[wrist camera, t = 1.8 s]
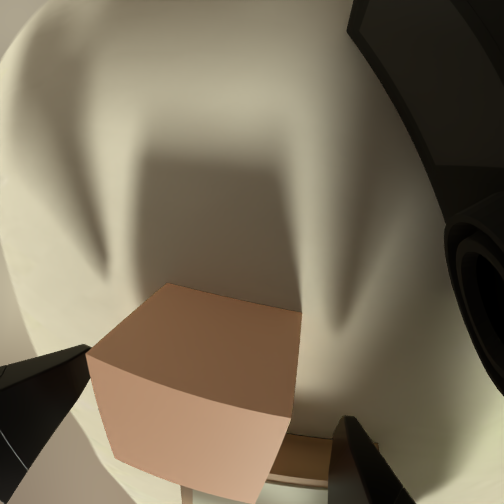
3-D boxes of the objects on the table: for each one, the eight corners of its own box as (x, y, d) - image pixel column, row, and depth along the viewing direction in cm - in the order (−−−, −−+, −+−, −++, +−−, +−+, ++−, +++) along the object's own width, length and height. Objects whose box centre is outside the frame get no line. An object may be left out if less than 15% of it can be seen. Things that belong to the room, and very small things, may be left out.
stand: (322, 510, 14) (319, 540, 11) (194, 487, 15) (182, 515, 13) (378, 442, 11) (382, 484, 9) (196, 412, 12) (176, 452, 10)
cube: (275, 408, 12) (254, 504, 7) (167, 379, 12) (115, 458, 8) (302, 311, 10) (291, 418, 5) (167, 281, 11) (85, 353, 6)
